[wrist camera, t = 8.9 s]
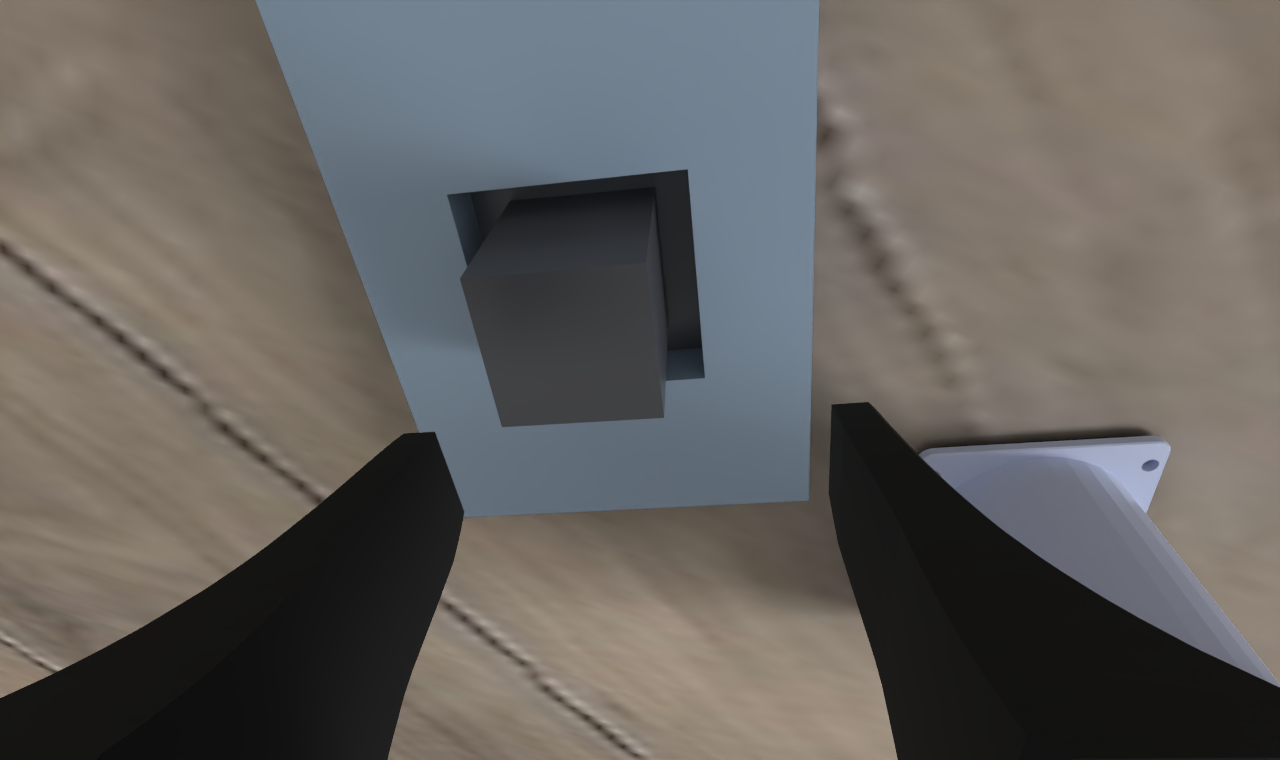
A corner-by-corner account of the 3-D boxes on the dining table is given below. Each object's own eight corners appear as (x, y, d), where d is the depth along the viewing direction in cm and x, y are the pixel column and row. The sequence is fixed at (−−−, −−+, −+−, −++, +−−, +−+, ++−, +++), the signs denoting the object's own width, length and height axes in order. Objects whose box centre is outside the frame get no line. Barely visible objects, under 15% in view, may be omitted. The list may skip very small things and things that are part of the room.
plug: (668, 318, 20) (663, 418, 16) (538, 327, 21) (501, 427, 17) (654, 186, 18) (645, 263, 14) (510, 200, 19) (459, 278, 14)
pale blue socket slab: (798, 451, 24) (809, 500, 22) (470, 469, 25) (451, 518, 23) (802, -101, 15) (821, -106, 13) (302, -27, 17) (247, -21, 14)
